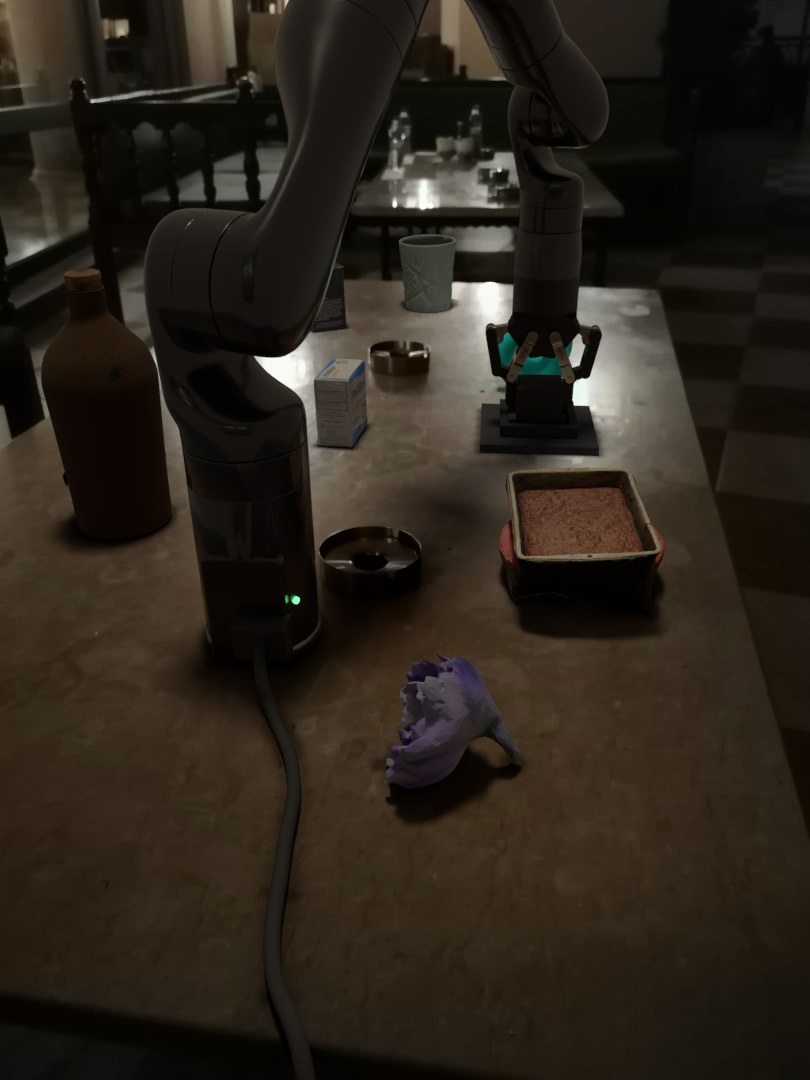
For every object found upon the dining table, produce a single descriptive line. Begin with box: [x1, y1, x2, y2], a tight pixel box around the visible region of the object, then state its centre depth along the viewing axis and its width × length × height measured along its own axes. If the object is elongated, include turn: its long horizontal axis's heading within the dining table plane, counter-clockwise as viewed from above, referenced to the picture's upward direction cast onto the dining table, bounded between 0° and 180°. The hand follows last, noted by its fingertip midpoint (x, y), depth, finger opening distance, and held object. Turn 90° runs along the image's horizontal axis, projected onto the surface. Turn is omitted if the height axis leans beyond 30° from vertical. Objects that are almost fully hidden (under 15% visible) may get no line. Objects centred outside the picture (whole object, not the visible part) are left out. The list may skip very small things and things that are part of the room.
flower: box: [384, 652, 522, 790], centre depth 60 cm, size 9×9×10 cm
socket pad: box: [478, 398, 600, 456], centre depth 113 cm, size 14×14×2 cm
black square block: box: [515, 374, 564, 421], centre depth 111 cm, size 6×6×4 cm
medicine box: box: [313, 358, 368, 448], centre depth 111 cm, size 8×4×9 cm, turn 168°
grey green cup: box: [398, 233, 457, 313], centre depth 164 cm, size 10×10×12 cm
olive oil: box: [40, 268, 173, 541], centre depth 87 cm, size 11×11×25 cm
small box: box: [311, 261, 348, 333], centre depth 156 cm, size 11×6×10 cm, turn 25°
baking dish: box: [497, 467, 665, 616], centre depth 81 cm, size 14×18×10 cm
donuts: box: [499, 333, 574, 383], centre depth 127 cm, size 10×10×10 cm
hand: (538, 408), depth 112 cm, fingers closed on black square block, 5 cm apart
